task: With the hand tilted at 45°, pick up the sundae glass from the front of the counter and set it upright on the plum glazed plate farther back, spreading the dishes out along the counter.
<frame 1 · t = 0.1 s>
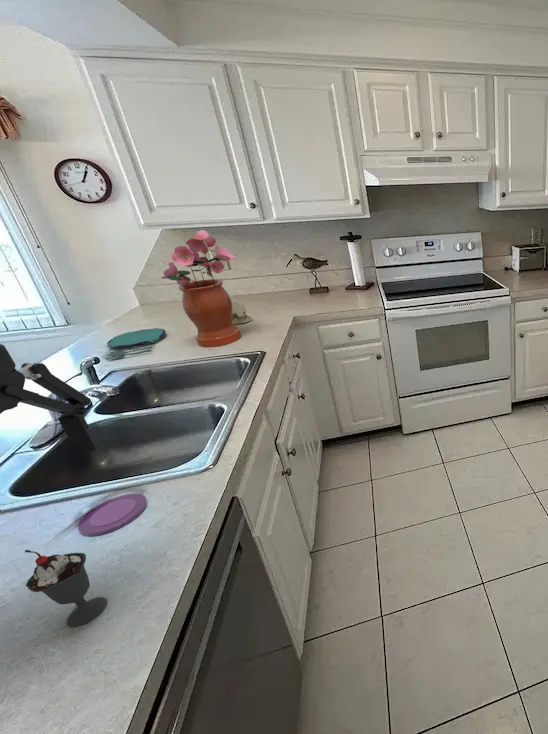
hand: (42, 478, 62), 24 cm above the worktop, tool pointing down, fingers open, 13 cm apart
ceramic model: (235, 322, 196), on the worktop
sundae: (87, 612, 68), on the worktop
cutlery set: (136, 345, 173), on the worktop
plum plate: (114, 515, 87), on the worktop
potted flower: (224, 340, 176), on the worktop
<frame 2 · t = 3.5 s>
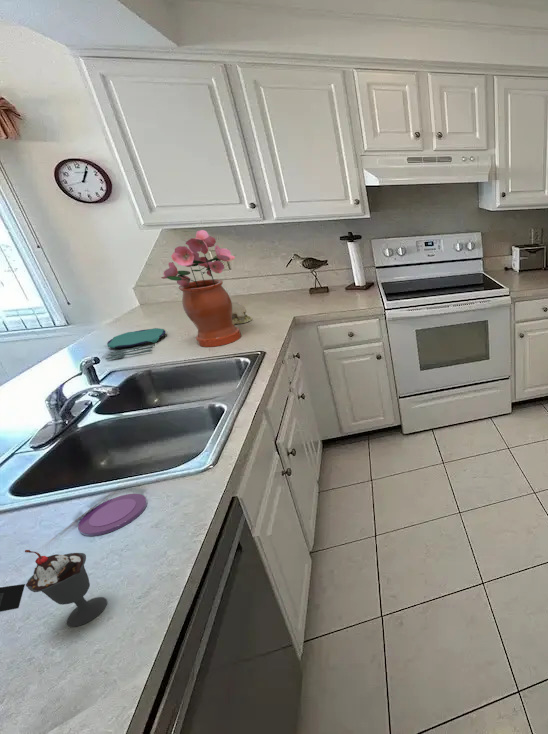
nothing on the worktop moved.
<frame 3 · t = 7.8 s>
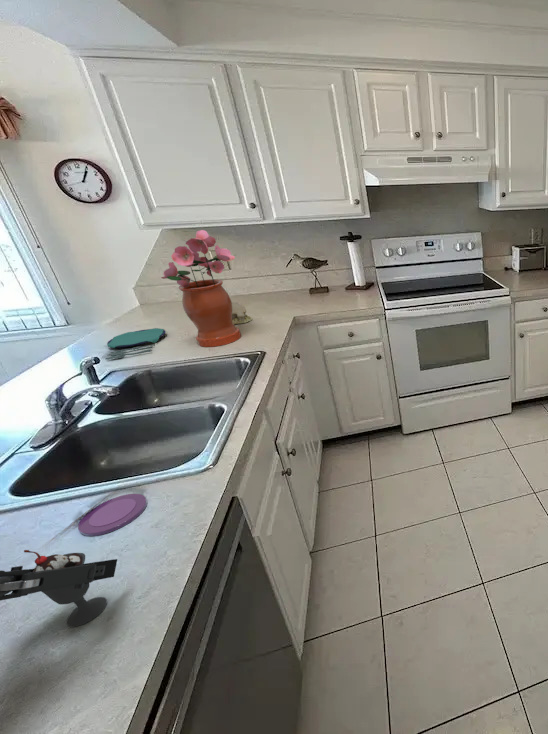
hand: (89, 570, 69), 6 cm above the worktop, tool tilted 45°, fingers closed on sundae, 7 cm apart
sundae: (87, 612, 68), on the worktop, touching gripper
everything else where it was.
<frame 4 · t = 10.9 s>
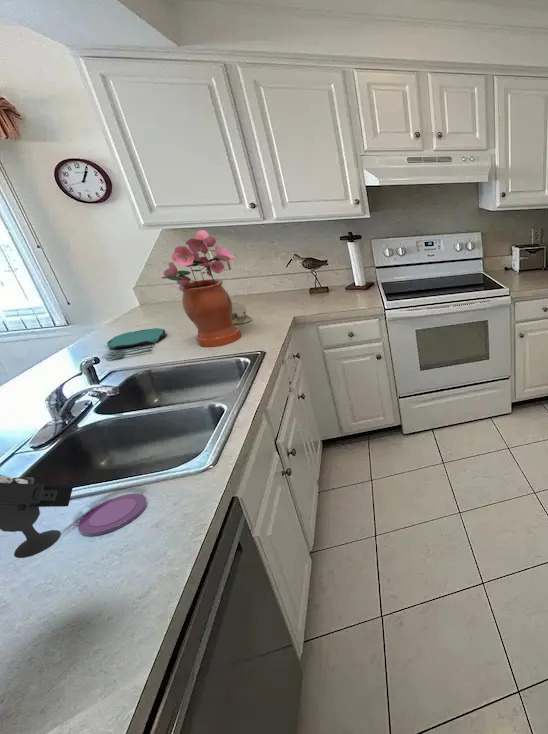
hand: (40, 499, 62), 21 cm above the worktop, tool tilted 45°, fingers closed on sundae, 7 cm apart
sundae: (38, 545, 61), point 16 cm above the worktop, touching gripper
everything else where it was.
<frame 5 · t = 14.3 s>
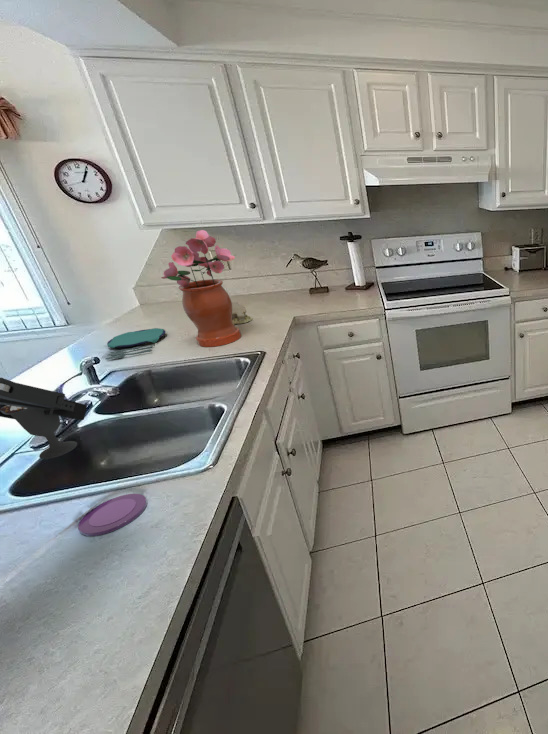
hand: (60, 413, 74), 26 cm above the worktop, tool tilted 45°, fingers closed on sundae, 7 cm apart
sundae: (59, 451, 74), point 21 cm above the worktop, touching gripper
everything else where it was.
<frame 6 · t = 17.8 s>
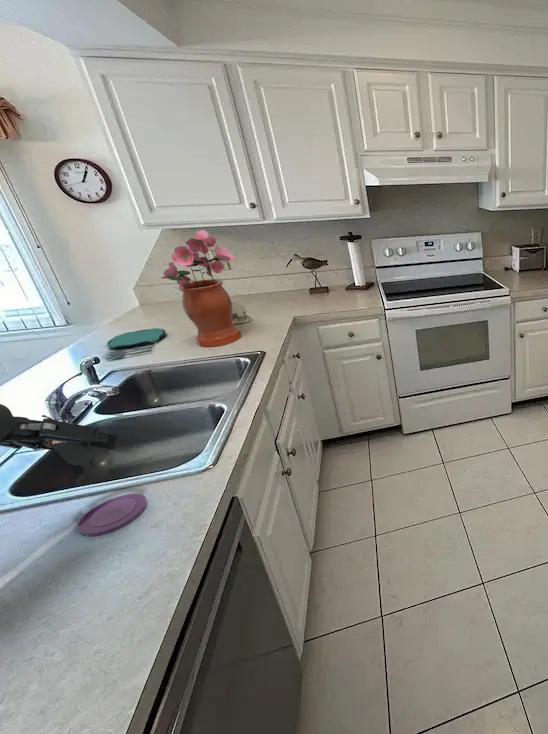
hand: (93, 444, 83), 16 cm above the worktop, tool tilted 45°, fingers closed on sundae, 7 cm apart
sundae: (92, 477, 82), point 10 cm above the worktop, touching gripper
everything else where it was.
when the fingers open (6 cm above the worktop, at t = 20.7 s): sundae stays where it is, resting on plum plate.
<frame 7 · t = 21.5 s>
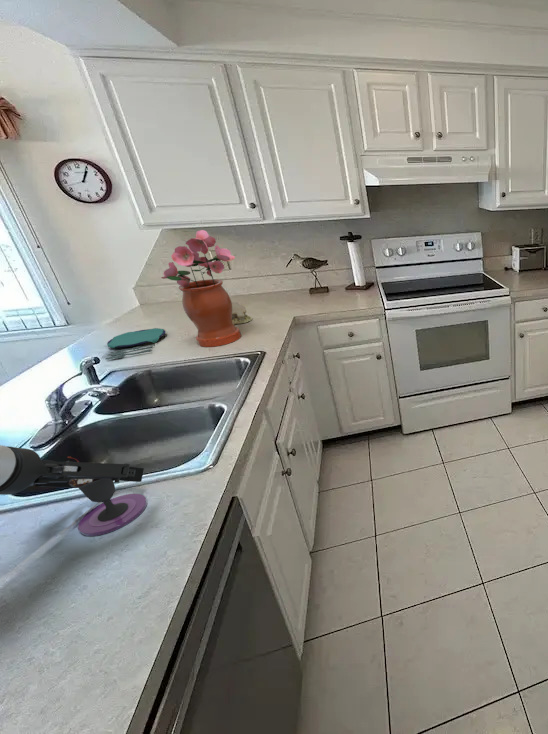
hand: (106, 477, 86), 8 cm above the worktop, tool tilted 45°, fingers open, 13 cm apart
sundae: (113, 512, 87), point 1 cm above the worktop, touching plum plate
everything else where it was.
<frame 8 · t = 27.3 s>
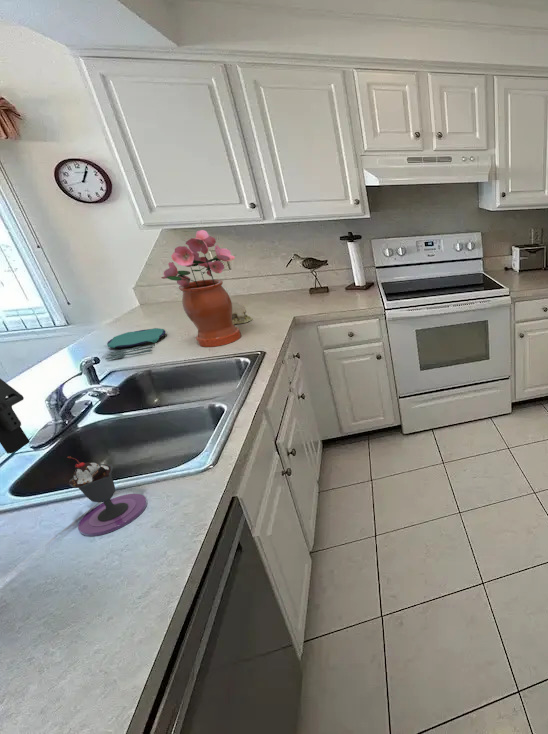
nothing on the worktop moved.
at the end: sundae 0.1 cm off-centre on the plum plate, point 0.7 cm above the plum plate's base; sundae tilted 0°; sundae moved 24.9 cm from its start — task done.
